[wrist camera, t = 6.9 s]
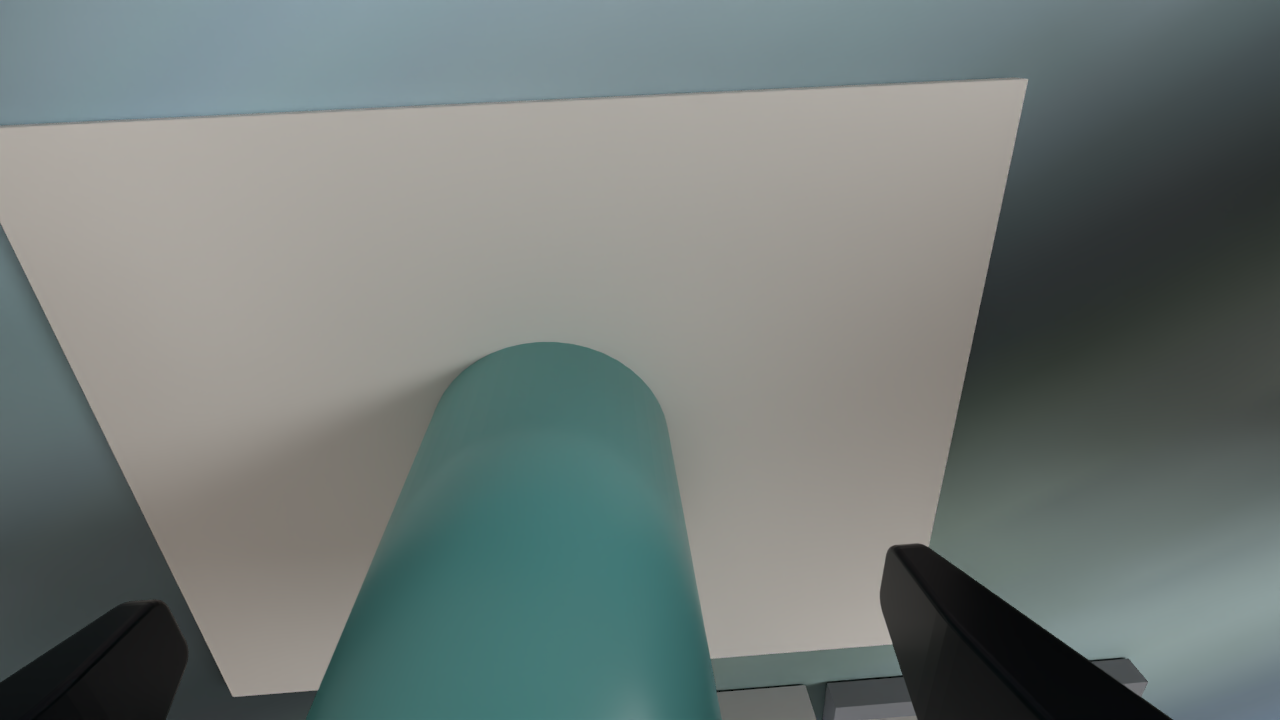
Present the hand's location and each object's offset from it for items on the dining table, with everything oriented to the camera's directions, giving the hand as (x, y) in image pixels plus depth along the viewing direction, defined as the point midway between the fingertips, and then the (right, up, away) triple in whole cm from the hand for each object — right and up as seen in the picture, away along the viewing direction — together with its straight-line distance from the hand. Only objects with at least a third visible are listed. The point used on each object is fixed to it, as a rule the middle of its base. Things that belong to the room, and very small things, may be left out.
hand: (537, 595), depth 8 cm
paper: (0, +2, +3) cm, 4 cm away
